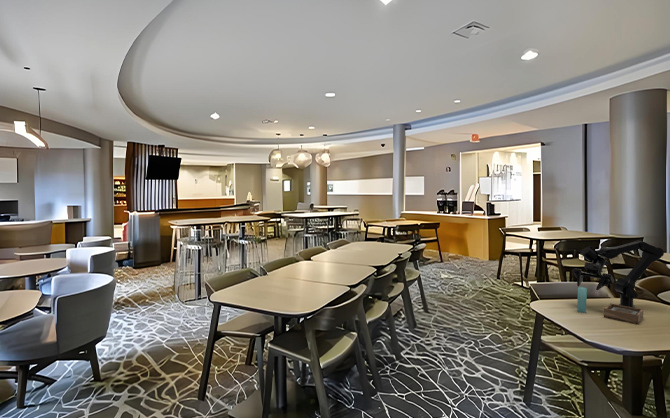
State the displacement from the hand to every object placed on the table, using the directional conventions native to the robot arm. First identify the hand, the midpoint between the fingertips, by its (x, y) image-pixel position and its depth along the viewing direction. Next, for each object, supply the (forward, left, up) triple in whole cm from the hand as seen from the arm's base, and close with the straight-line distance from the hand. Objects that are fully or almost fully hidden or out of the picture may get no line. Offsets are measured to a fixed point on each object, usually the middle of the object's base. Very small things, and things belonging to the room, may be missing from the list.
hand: (587, 287), depth 193 cm
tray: (+1, +16, -12) cm, 20 cm away
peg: (+6, -1, -12) cm, 14 cm away
